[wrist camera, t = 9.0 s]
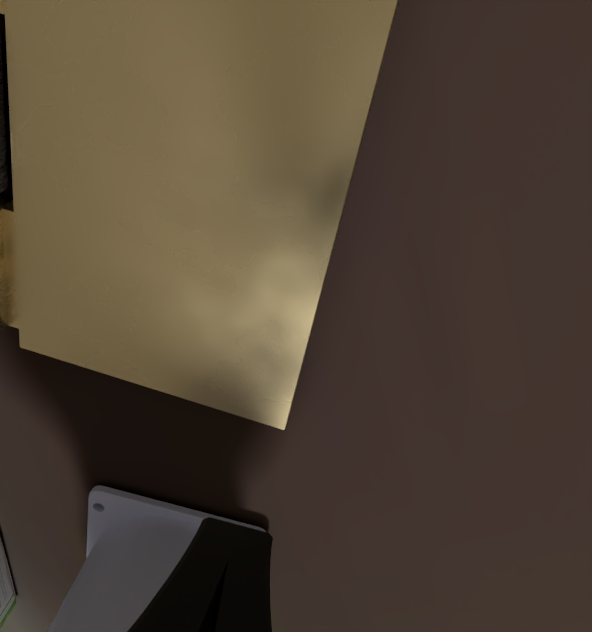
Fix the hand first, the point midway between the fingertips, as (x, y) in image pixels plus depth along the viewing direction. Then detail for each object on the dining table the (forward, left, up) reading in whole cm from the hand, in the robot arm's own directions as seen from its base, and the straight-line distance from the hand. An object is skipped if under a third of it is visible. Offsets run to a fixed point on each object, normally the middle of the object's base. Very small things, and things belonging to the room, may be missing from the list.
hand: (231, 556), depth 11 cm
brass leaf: (+5, +6, -9) cm, 12 cm away
